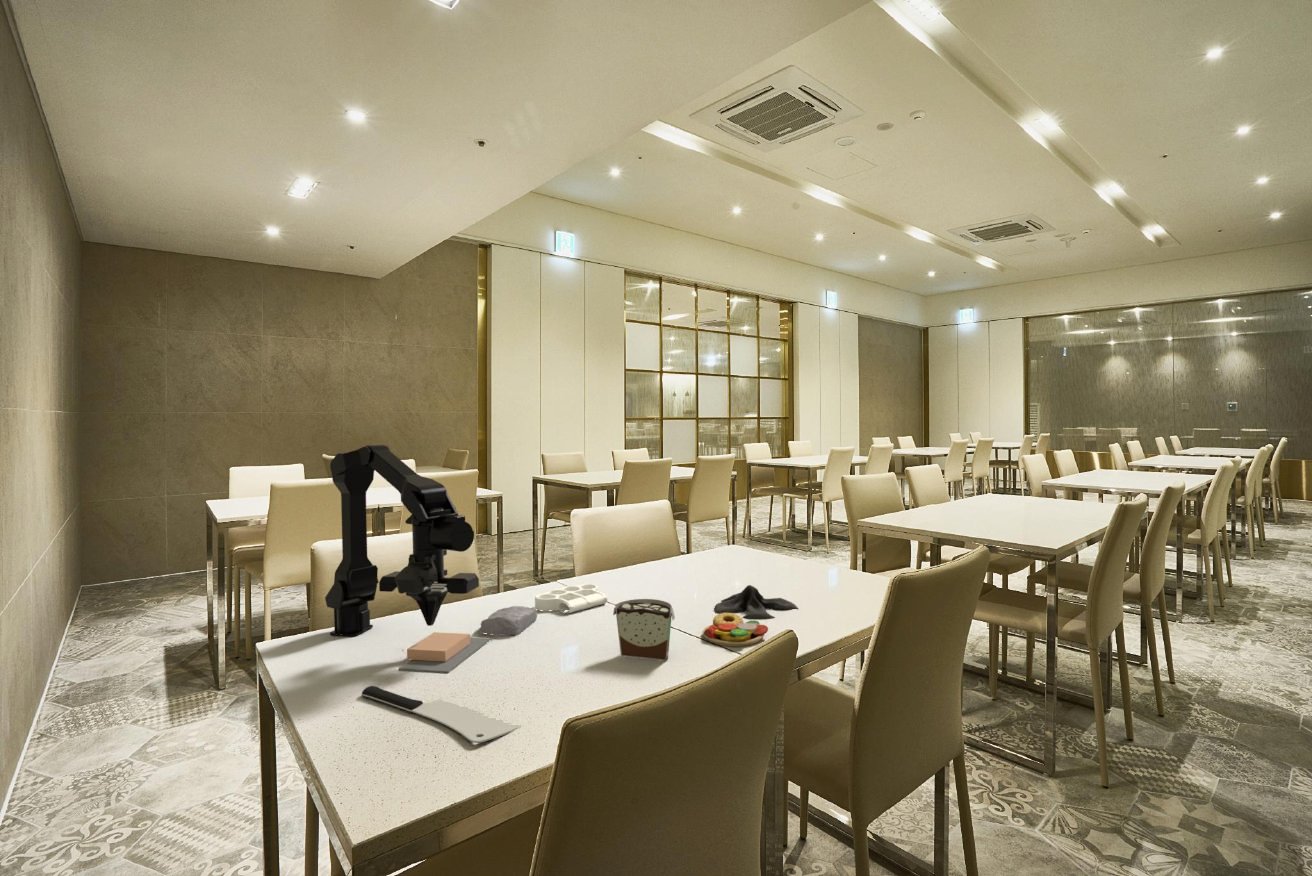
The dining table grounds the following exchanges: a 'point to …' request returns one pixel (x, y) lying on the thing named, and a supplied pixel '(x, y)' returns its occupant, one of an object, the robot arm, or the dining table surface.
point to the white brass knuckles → (570, 598)
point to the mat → (449, 664)
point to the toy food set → (734, 630)
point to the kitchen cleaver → (445, 715)
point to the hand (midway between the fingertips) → (430, 625)
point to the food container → (644, 628)
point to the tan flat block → (438, 647)
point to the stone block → (509, 621)
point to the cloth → (752, 604)
